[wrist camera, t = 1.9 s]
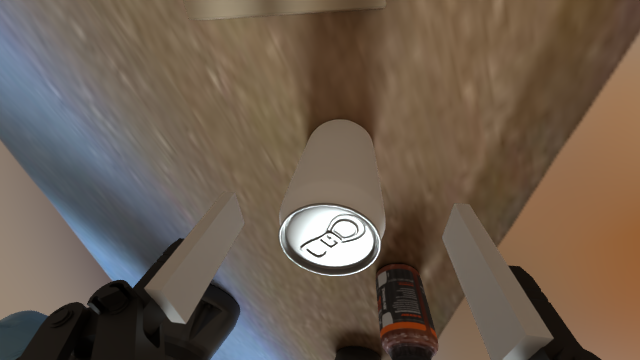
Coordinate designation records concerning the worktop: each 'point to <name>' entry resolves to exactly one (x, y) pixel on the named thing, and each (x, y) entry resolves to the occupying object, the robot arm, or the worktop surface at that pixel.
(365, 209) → the can
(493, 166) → the worktop surface
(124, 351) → the robot arm
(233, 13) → the grey ring holder base
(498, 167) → the worktop surface
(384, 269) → the supplement bottle
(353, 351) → the jar
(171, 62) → the worktop surface
